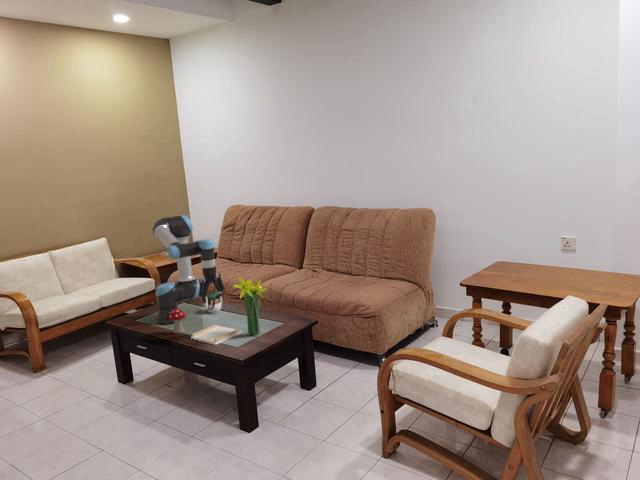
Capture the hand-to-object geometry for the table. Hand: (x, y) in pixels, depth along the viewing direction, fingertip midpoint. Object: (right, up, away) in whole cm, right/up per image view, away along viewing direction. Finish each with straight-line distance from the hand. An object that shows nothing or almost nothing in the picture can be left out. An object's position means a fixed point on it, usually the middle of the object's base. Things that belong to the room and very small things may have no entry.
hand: (213, 305), depth 287 cm
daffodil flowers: (+23, -17, +1) cm, 29 cm away
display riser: (+1, -18, +2) cm, 18 cm away
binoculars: (0, -2, +1) cm, 3 cm away
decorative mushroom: (-23, -18, +12) cm, 31 cm away
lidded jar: (-10, -11, +49) cm, 51 cm away
